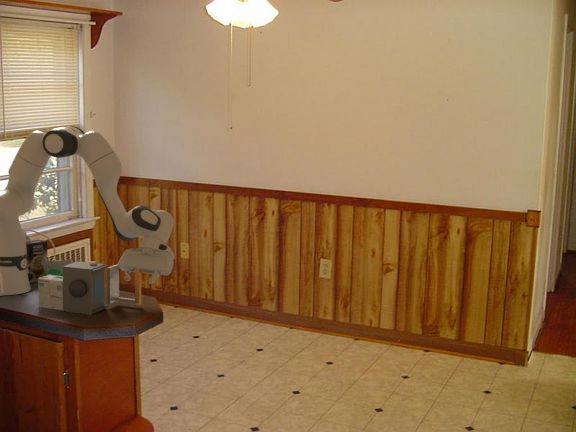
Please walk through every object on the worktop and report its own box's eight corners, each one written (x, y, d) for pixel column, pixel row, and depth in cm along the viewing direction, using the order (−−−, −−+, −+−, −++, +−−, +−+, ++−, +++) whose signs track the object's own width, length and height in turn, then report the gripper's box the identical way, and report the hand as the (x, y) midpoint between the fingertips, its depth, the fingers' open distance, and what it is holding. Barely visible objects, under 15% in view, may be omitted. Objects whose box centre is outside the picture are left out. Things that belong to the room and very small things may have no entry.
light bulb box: (74, 306, 267) (74, 277, 266) (63, 311, 261) (62, 281, 260) (50, 302, 271) (49, 273, 269) (37, 307, 265) (37, 277, 263)
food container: (40, 287, 293) (39, 261, 291) (41, 283, 299) (41, 258, 297) (72, 286, 296) (72, 261, 294) (73, 282, 302) (73, 258, 300)
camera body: (60, 312, 259) (59, 264, 256) (77, 304, 269) (77, 258, 267) (91, 316, 255) (90, 268, 253) (107, 308, 266) (107, 261, 263)
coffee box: (28, 283, 297) (28, 243, 294) (19, 281, 301) (18, 241, 298) (48, 280, 304) (47, 240, 302) (39, 277, 308) (38, 238, 306)
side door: (107, 305, 266) (107, 267, 264) (116, 301, 272) (116, 264, 270) (132, 308, 263) (132, 270, 261) (141, 304, 269) (141, 266, 267)
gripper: (123, 242, 276) (109, 273, 268) (173, 247, 270) (161, 279, 262) (129, 252, 281) (115, 283, 273) (179, 257, 275) (166, 289, 267)
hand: (138, 281), depth 268 cm, fingers open, 8 cm apart
